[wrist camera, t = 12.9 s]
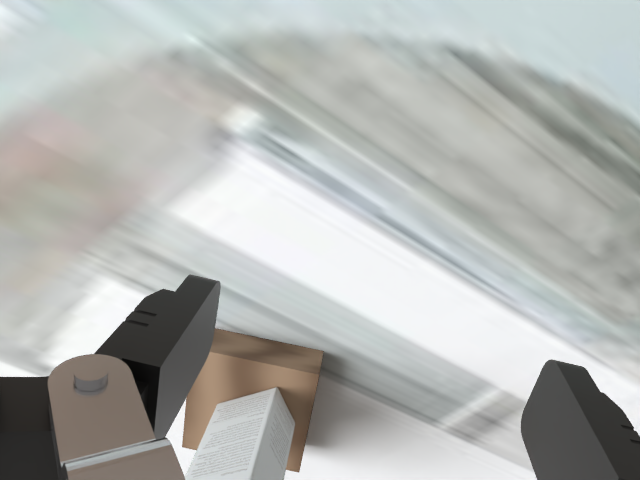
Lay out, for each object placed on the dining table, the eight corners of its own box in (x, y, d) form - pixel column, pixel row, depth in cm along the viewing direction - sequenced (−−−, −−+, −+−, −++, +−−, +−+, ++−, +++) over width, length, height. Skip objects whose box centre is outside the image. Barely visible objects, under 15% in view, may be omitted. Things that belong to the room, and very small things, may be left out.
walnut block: (324, 347, 46) (319, 374, 43) (304, 440, 51) (299, 472, 47) (205, 323, 47) (191, 347, 43) (196, 417, 51) (182, 447, 47)
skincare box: (237, 439, 46) (191, 564, 35) (216, 402, 45) (162, 519, 34) (298, 423, 45) (271, 549, 34) (279, 384, 43) (244, 501, 32)
